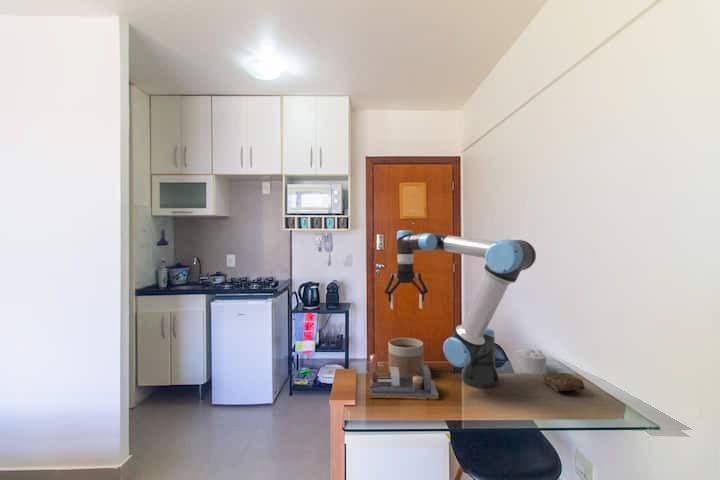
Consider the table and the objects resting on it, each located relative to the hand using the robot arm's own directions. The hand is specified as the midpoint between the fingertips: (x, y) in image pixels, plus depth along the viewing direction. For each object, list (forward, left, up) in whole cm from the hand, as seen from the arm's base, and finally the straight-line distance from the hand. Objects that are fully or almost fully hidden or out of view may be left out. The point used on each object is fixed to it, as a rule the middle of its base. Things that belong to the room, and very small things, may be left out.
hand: (406, 308), depth 155 cm
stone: (-61, +18, -29) cm, 70 cm away
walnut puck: (-2, +22, -27) cm, 35 cm away
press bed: (+4, +22, -29) cm, 37 cm away
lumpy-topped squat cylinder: (-59, -3, -29) cm, 66 cm away
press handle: (+11, +22, -27) cm, 37 cm away
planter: (+1, +2, -29) cm, 29 cm away
